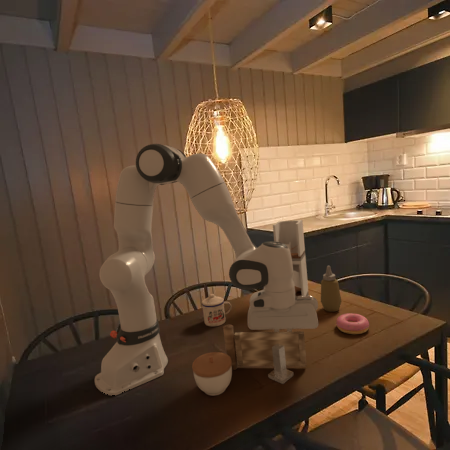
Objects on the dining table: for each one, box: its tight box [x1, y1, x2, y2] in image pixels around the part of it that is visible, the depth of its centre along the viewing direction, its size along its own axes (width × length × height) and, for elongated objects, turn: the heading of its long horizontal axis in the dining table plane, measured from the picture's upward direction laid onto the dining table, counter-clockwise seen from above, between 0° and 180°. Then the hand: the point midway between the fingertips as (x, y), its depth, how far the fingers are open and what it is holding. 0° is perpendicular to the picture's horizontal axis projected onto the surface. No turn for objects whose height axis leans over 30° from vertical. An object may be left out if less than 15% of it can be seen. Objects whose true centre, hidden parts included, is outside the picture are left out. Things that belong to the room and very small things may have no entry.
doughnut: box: [335, 312, 370, 335], centre depth 113 cm, size 11×11×4 cm
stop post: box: [267, 343, 295, 385], centre depth 90 cm, size 5×5×9 cm
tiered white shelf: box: [272, 219, 310, 296], centre depth 143 cm, size 11×11×35 cm
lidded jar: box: [191, 351, 233, 397], centre depth 88 cm, size 11×11×9 cm
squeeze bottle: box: [320, 265, 342, 313], centre depth 129 cm, size 8×8×18 cm
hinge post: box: [222, 324, 239, 371], centre depth 97 cm, size 3×3×13 cm
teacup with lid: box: [201, 293, 232, 327], centre depth 131 cm, size 12×9×12 cm
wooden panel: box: [234, 331, 308, 367], centre depth 94 cm, size 20×2×10 cm, turn 79°
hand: (284, 341), depth 95 cm, fingers closed, pressing on wooden panel
